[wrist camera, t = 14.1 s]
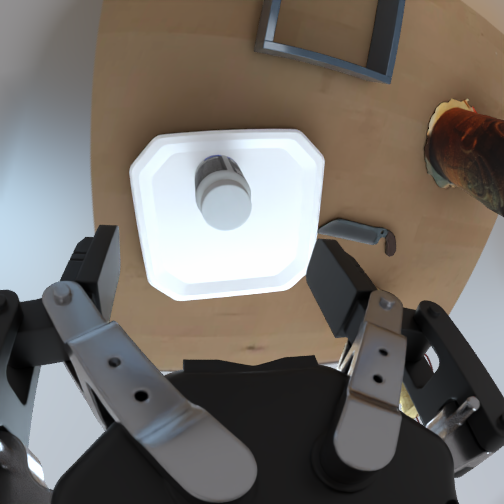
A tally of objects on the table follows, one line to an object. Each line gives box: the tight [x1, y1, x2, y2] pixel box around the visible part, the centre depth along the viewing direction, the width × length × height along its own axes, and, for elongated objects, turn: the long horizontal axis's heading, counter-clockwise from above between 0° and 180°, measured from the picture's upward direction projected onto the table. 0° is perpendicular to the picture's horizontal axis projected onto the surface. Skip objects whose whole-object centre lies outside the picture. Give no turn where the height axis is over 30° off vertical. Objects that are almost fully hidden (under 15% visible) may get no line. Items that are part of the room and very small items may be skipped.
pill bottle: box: [194, 155, 252, 231], centre depth 28 cm, size 5×5×8 cm
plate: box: [129, 129, 325, 301], centre depth 36 cm, size 21×21×2 cm
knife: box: [317, 219, 396, 257], centre depth 41 cm, size 14×4×1 cm, turn 73°
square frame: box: [254, 0, 405, 84], centre depth 24 cm, size 14×14×4 cm
